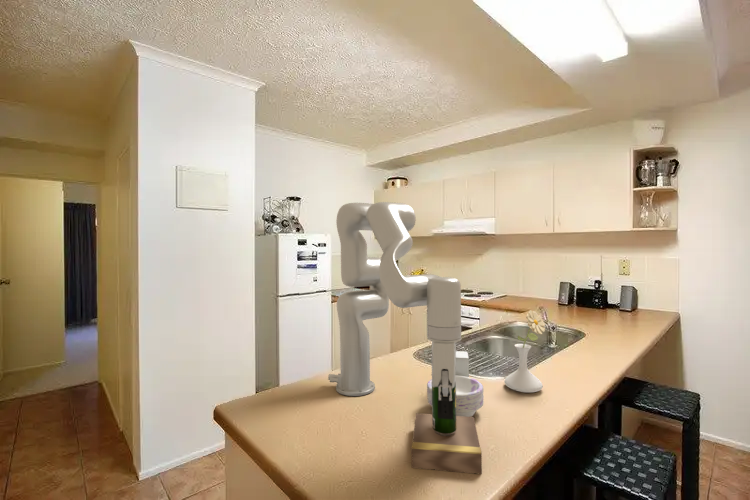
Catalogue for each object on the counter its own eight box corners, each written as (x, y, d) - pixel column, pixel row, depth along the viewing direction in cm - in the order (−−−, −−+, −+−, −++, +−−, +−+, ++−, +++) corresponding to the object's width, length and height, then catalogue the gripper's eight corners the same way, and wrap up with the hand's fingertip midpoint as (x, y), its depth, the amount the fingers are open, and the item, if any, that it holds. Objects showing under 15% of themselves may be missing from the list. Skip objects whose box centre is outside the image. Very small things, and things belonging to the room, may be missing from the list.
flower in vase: (517, 397, 108) (517, 314, 108) (497, 383, 119) (496, 308, 119) (555, 393, 111) (555, 312, 111) (532, 380, 122) (531, 306, 122)
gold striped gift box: (411, 467, 74) (411, 446, 74) (416, 429, 90) (416, 412, 90) (481, 474, 72) (481, 452, 72) (473, 433, 88) (473, 415, 88)
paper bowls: (424, 400, 107) (424, 373, 107) (475, 400, 107) (475, 373, 107) (430, 425, 92) (430, 394, 92) (490, 426, 91) (490, 394, 91)
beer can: (437, 438, 78) (437, 383, 78) (428, 426, 83) (428, 374, 83) (460, 435, 79) (459, 380, 79) (450, 423, 85) (449, 372, 85)
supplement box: (469, 400, 107) (469, 358, 106) (444, 398, 108) (443, 356, 108) (468, 390, 114) (467, 351, 114) (444, 389, 115) (444, 350, 115)
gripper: (428, 323, 90) (429, 391, 90) (426, 341, 73) (427, 425, 73) (458, 324, 89) (459, 393, 89) (463, 343, 72) (464, 428, 72)
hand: (444, 408), depth 81 cm, fingers open, 9 cm apart
